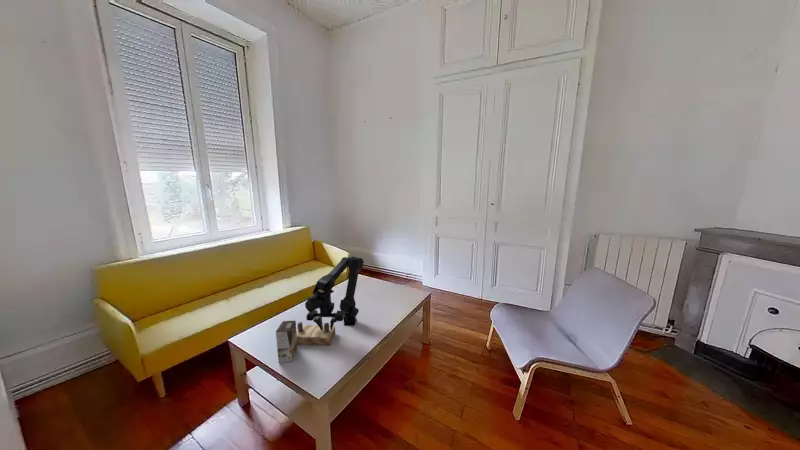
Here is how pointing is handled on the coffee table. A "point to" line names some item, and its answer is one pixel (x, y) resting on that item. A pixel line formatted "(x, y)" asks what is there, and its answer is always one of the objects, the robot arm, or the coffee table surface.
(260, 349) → the coffee table surface
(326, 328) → the lid
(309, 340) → the walnut box
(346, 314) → the robot arm
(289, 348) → the coffee box
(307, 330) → the lid
